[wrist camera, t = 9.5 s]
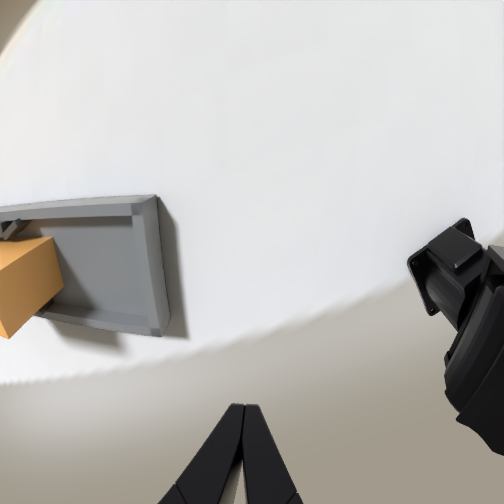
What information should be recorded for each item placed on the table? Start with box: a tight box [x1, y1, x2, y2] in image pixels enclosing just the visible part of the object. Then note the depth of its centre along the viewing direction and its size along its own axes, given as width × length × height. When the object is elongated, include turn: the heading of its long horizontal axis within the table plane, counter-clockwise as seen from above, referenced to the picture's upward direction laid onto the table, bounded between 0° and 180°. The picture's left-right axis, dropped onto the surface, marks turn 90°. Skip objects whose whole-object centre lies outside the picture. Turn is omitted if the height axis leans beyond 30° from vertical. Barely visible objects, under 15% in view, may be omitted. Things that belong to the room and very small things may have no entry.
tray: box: [0, 195, 171, 337], centre depth 20 cm, size 21×10×3 cm, turn 90°
